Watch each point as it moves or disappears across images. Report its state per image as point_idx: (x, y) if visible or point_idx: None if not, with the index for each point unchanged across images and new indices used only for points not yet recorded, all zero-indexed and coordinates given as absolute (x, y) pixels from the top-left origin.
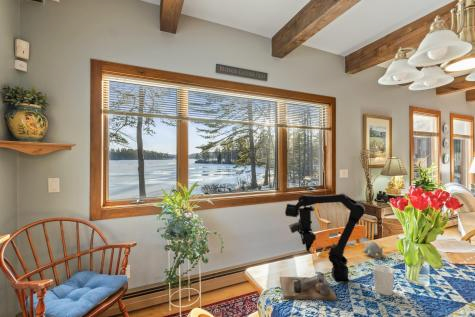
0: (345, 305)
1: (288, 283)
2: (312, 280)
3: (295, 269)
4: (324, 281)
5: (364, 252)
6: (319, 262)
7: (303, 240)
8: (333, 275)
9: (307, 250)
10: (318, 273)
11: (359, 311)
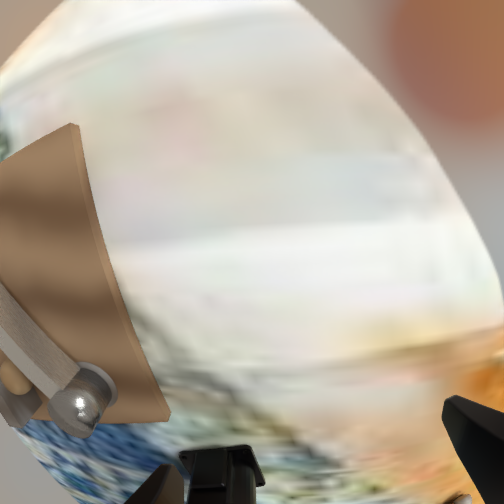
0: (27, 424)
1: (15, 202)
2: (12, 359)
3: (272, 224)
4: (122, 411)
5: (460, 500)
6: (418, 380)
7: (479, 445)
8: (195, 461)
9: (163, 476)
10: (68, 414)
11: (27, 445)
